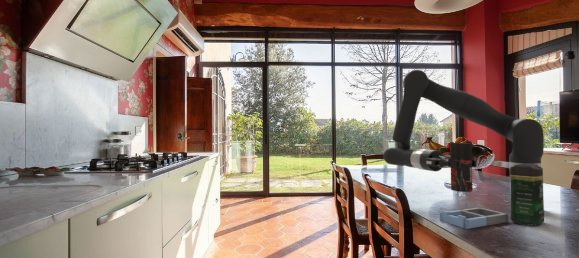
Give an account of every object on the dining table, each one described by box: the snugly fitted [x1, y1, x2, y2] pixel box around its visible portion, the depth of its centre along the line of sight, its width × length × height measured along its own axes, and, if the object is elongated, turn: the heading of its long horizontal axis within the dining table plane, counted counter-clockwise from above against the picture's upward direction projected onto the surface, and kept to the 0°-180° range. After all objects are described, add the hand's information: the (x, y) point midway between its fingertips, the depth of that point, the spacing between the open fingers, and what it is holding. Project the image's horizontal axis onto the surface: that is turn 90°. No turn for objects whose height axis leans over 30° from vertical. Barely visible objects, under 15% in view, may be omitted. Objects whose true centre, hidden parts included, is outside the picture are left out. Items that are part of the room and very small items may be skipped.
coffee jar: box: [509, 163, 545, 227], centre depth 94 cm, size 10×8×19 cm
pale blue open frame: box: [439, 206, 509, 230], centre depth 96 cm, size 18×10×3 cm, turn 110°
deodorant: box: [449, 142, 473, 193], centre depth 95 cm, size 6×6×15 cm
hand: (468, 164), depth 93 cm, fingers closed on deodorant, 6 cm apart
